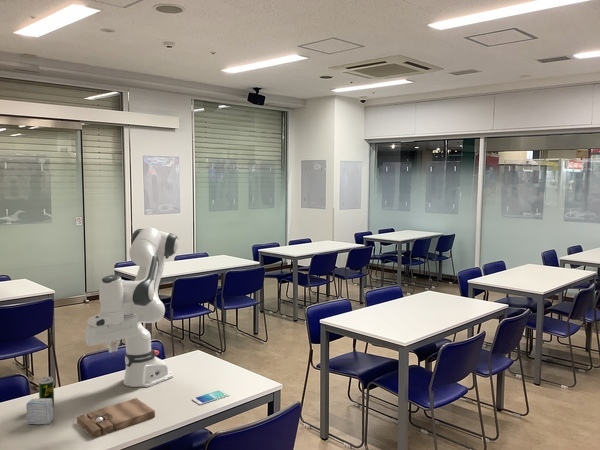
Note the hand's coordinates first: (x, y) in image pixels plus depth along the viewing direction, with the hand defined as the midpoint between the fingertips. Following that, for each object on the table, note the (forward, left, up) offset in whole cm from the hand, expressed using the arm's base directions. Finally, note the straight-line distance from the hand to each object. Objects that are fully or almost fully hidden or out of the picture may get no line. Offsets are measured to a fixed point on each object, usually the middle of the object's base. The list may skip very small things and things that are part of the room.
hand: (113, 351), depth 197 cm
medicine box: (+24, -12, -25) cm, 37 cm away
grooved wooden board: (+2, +6, -25) cm, 26 cm away
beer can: (+18, -24, -25) cm, 39 cm away
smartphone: (-36, +14, -26) cm, 46 cm away
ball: (+7, +6, -24) cm, 26 cm away
